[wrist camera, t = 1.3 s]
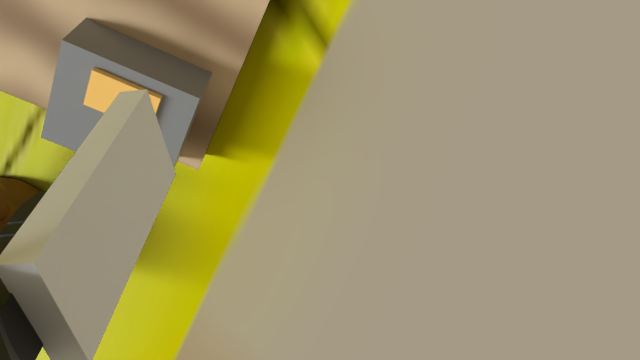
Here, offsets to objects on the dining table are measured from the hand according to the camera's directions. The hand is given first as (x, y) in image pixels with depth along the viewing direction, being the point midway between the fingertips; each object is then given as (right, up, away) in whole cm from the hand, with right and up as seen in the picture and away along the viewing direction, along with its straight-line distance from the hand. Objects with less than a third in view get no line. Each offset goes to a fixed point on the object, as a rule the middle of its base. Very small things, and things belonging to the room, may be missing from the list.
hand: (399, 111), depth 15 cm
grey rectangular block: (-14, +4, +23) cm, 27 cm away
